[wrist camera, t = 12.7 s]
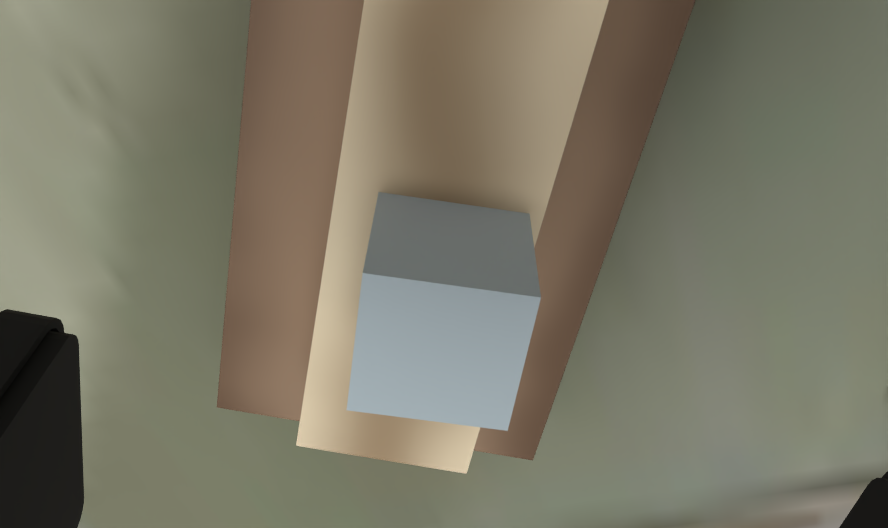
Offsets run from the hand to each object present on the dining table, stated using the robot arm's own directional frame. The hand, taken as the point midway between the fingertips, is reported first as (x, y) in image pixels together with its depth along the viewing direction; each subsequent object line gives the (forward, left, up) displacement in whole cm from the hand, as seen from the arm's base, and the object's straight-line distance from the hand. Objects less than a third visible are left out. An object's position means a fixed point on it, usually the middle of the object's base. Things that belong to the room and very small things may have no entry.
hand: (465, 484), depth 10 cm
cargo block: (0, +5, -13) cm, 13 cm away
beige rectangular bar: (0, +3, -17) cm, 17 cm away
